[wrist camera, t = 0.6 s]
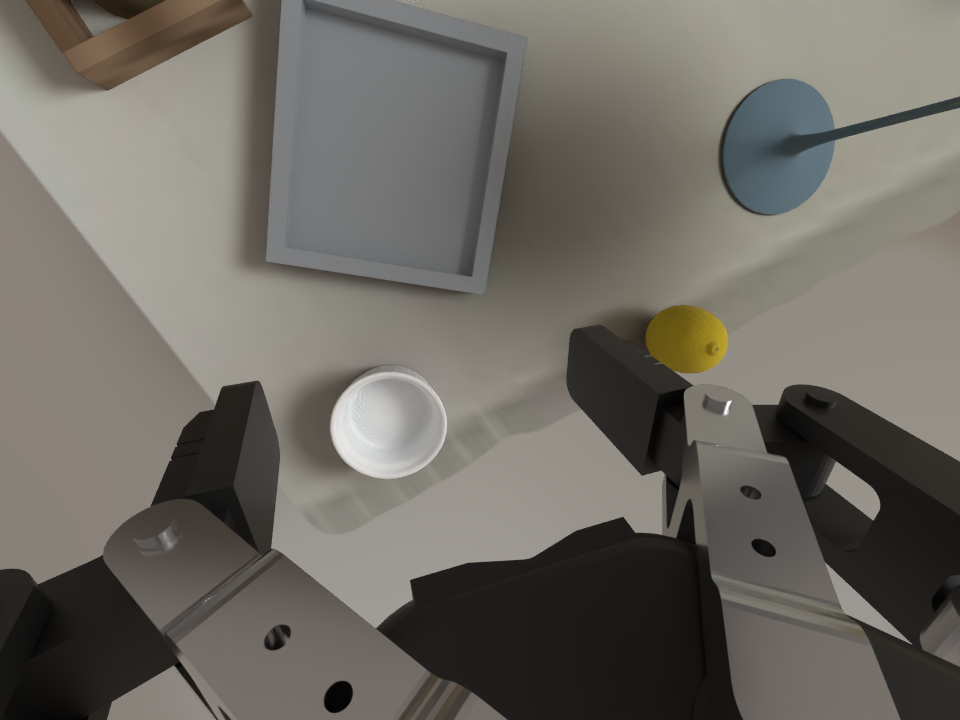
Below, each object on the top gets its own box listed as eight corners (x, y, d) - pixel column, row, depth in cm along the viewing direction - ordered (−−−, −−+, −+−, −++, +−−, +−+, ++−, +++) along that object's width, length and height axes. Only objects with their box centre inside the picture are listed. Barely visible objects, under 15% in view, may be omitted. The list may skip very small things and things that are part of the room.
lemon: (653, 371, 42) (710, 399, 34) (617, 331, 40) (669, 350, 33) (696, 329, 42) (763, 347, 34) (662, 287, 40) (724, 296, 33)
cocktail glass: (660, 72, 36) (1189, -286, 12) (856, -1, 37) (1689, -454, 13) (706, 285, 41) (1138, 338, 17) (876, 215, 42) (1501, 172, 18)
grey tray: (292, -9, 30) (283, -30, 28) (518, 52, 34) (527, 37, 31) (275, 260, 34) (265, 261, 32) (479, 291, 37) (484, 294, 35)
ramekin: (456, 433, 40) (462, 454, 36) (362, 470, 40) (358, 496, 35) (420, 343, 38) (422, 354, 34) (319, 381, 37) (309, 398, 33)
